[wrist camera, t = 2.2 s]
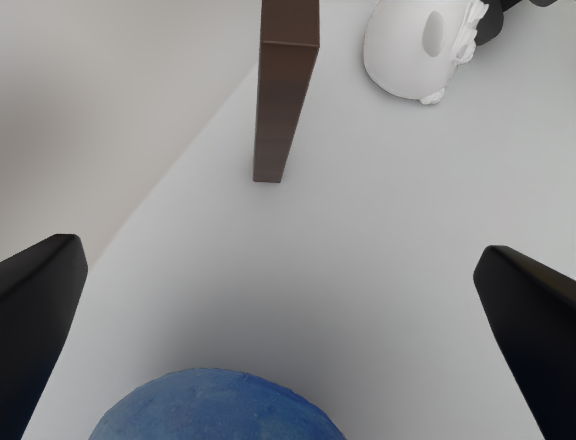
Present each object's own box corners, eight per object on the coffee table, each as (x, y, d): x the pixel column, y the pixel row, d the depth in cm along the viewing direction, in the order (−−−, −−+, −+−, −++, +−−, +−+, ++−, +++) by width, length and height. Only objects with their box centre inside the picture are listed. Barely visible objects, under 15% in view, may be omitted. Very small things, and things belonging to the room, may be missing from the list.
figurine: (426, 131, 23) (494, 69, 17) (336, 85, 23) (370, 5, 17) (468, 37, 25) (544, -52, 19) (385, -7, 25) (432, -110, 19)
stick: (280, 183, 22) (320, 47, 10) (252, 181, 22) (260, 42, 10) (280, 157, 22) (319, -4, 10) (253, 155, 22) (262, -9, 10)
